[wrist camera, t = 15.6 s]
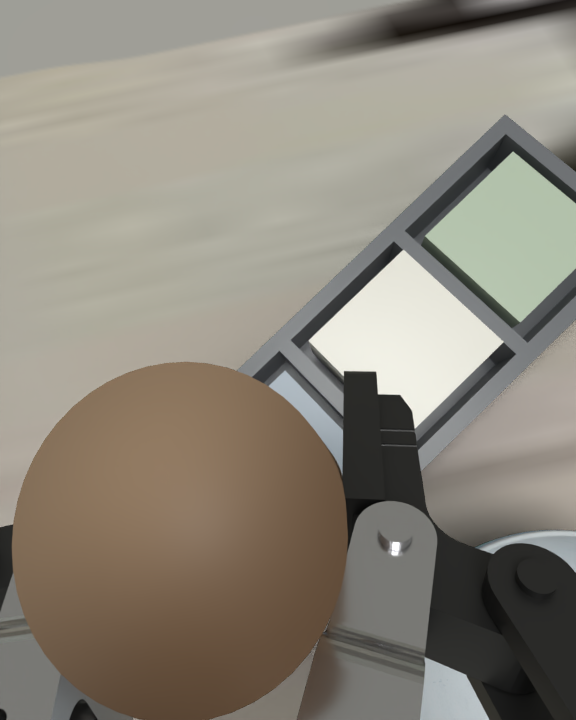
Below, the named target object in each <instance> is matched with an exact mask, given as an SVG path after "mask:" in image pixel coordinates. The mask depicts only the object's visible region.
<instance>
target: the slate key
mask: <svg viewBox="0 0 576 720" xmlns="http://www.w3.org/2000/svg"><path fill="white" fill-rule="evenodd" d="M269 387H270V388H271V389H273V390H274V391H276V392H277V393H279V394H280V395H281V396H283V397H284V398H285V399H286V400H287V401H288V402H290V403H291V404H292V405H293V406H294V407H295V408H296V409H297V410H298V411H299V412H300V413H301V414H302V415H303V417H304V418H305V419H306V420H307V421H308V423H309V424H310V425H311V426H312V427H313V429H314V430H315V431H316V433H317V434H318V435H319V437H320V438H321V439H322V441H323V442H324V443H325V445H326V446H327V448H328V449H329V450H330V452H331V453H332V454H333V456H334V457H335V459H336V461H337V463H338V465H339V467H340V470H341V473H342V472H343V430H342V429H341V428H340V427H339V426H338V425H337V424H336V423H335V422H334V421H333V420H332V419H331V418H330V416H329V415H328V414H327V413H326V412H325V411H324V410H323V409H322V408H321V407H320V406H319V405H318V404H317V403H316V402H315V401H314V400H313V399H312V398H311V397H310V396H309V395H308V394H307V393H306V392H305V391H304V390H303V389H302V387H301V386H300V385H299V384H298V383H297V382H296V381H295V380H294V379H293V378H292V377H291V376H290V375H289V374H288V373H287V372H286V371H284V372H283V373H282V374H281V375H280V376H279V377H278V378H277V379H276V380H275V381H274V382H272V383H271V384H270V385H269Z"/></svg>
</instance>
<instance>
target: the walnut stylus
mask: <svg viewBox="0 0 576 720" xmlns="http://www.w3.org/2000/svg"><path fill="white" fill-rule="evenodd" d="M347 545H348V530H347V513H346V502H345V494H344V488H343V483H342V473H341V470H340V467H339V465H338V463H337V461H336V459H335V457H334V456H333V454H332V453H331V452H330V450H329V449H328V448H327V446H326V445H325V443H324V442H323V441H322V439H321V438H320V437H319V435H318V434H317V433H316V431H315V430H314V429H313V427H312V426H311V425H310V424H309V423H308V421H307V420H306V419H305V418H304V417H303V415H302V414H301V413H300V412H299V411H298V410H297V409H296V408H295V407H294V406H293V405H292V404H291V403H290V402H288V401H287V400H286V399H285V398H284V397H283V396H281V395H280V394H279V393H277V392H276V391H274V390H273V389H271V388H270V387H269V386H267V385H266V384H264V383H262V382H260V381H258V380H256V379H254V378H252V377H250V376H248V375H246V374H243V373H241V372H238V371H235V370H232V369H229V368H226V367H221V366H216V365H212V364H207V363H194V362H177V363H164V364H159V365H153V366H148V367H144V368H141V369H138V370H135V371H132V372H129V373H126V374H124V375H121V376H119V377H117V378H115V379H113V380H111V381H109V382H107V383H105V384H104V385H102V386H100V387H99V388H97V389H96V390H94V391H92V392H91V393H89V394H88V395H87V396H86V397H84V398H83V399H82V400H81V401H80V402H78V403H77V404H76V405H75V406H73V407H72V408H71V409H70V410H69V411H68V412H67V414H66V415H65V416H64V417H63V418H62V419H61V420H60V421H59V422H58V423H57V424H56V426H55V427H54V428H53V430H52V431H51V432H50V433H49V435H48V436H47V437H46V439H45V440H44V442H43V443H42V445H41V447H40V449H39V450H38V452H37V454H36V455H35V457H34V459H33V461H32V463H31V465H30V468H29V470H28V472H27V474H26V477H25V479H24V482H23V485H22V488H21V492H20V495H19V498H18V501H17V507H16V512H15V517H14V523H13V536H12V561H13V573H14V579H15V584H16V590H17V594H18V598H19V601H20V604H21V608H22V611H23V614H24V616H25V619H26V621H27V623H28V625H29V628H30V630H31V632H32V634H33V636H34V638H35V639H36V641H37V643H38V644H39V646H40V648H41V649H42V651H43V652H44V654H45V656H46V657H47V658H48V659H49V660H50V662H51V663H52V664H53V665H54V667H55V668H56V669H57V670H58V671H59V673H60V674H61V675H63V676H64V677H65V678H66V679H67V680H68V681H69V682H70V683H71V684H72V685H73V686H74V687H76V688H77V689H78V690H79V691H81V692H82V693H84V694H85V695H87V696H88V697H90V698H91V699H93V700H94V701H95V702H97V703H99V704H101V705H103V706H105V707H107V708H110V709H112V710H114V711H116V712H118V713H121V714H125V715H128V716H131V717H134V718H137V719H142V720H209V719H212V718H215V717H219V716H222V715H225V714H229V713H232V712H234V711H236V710H238V709H240V708H243V707H245V706H247V705H249V704H251V703H253V702H255V701H256V700H258V699H259V698H261V697H263V696H264V695H266V694H267V693H269V692H270V691H272V690H273V689H275V688H276V687H277V686H278V685H279V684H280V683H281V682H283V681H284V680H285V679H286V678H287V677H288V676H289V675H291V674H292V673H293V672H294V671H295V669H296V668H297V667H298V666H299V665H300V664H301V662H302V661H303V660H304V659H305V658H306V657H307V656H308V654H309V653H310V652H311V650H312V648H313V647H314V645H315V644H316V642H317V641H318V639H319V638H320V636H321V635H322V633H323V631H324V629H325V627H326V625H327V623H328V621H329V619H330V617H331V615H332V613H333V611H334V608H335V605H336V602H337V599H338V596H339V593H340V590H341V587H342V582H343V577H344V572H345V567H346V559H347Z"/></svg>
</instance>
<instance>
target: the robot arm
mask: <svg viewBox="0 0 576 720" xmlns="http://www.w3.org/2000/svg"><path fill="white" fill-rule="evenodd" d="M342 483H343V488H344V494H345V502H346V513H347V530H348V545H347V559H346V567H345V572H344V577H343V582H342V587H341V590H340V593H339V596H338V599H337V602H336V605H335V608H334V611H333V613H332V615H331V617H330V621H329V624H328V627H327V630H326V631H325V632H323V633H322V635H321V637H320V639H319V642H318V645H317V648H316V651H315V654H314V658H313V662H312V665H311V669H310V673H309V676H308V680H307V684H306V687H305V691H304V695H303V698H302V702H301V706H300V709H299V713H298V717H297V720H420V715H421V706H422V697H423V687H424V676H425V657H426V658H428V659H430V660H433V661H435V662H437V663H440V664H442V665H444V666H447V667H449V668H451V669H454V670H456V671H458V672H461V673H463V674H465V675H466V676H467V678H468V680H469V682H470V684H471V686H472V687H473V689H474V691H475V693H476V695H477V697H478V699H479V701H480V703H481V705H482V707H483V708H484V710H485V712H486V714H487V716H488V718H489V720H576V572H575V571H574V570H573V569H572V568H571V567H570V565H569V564H568V563H567V562H565V561H564V560H563V559H562V558H561V557H559V556H558V555H556V554H555V553H553V552H551V551H549V550H547V549H545V548H542V547H540V546H537V545H532V544H526V543H514V544H509V545H506V546H504V547H501V548H500V549H498V550H497V551H496V552H495V553H494V554H492V553H489V552H486V551H483V550H480V549H477V548H474V547H471V546H468V545H466V544H463V543H461V542H458V541H456V540H454V539H453V538H451V537H449V536H448V535H446V534H445V533H444V532H443V531H442V530H440V529H439V528H438V527H437V525H436V524H435V523H434V522H433V520H432V519H431V517H430V516H429V513H428V511H427V508H426V503H425V496H424V489H423V482H422V476H421V469H420V462H419V455H418V448H417V441H416V434H415V427H414V420H413V413H412V410H411V409H410V407H409V406H408V405H407V403H406V402H405V401H404V399H403V398H402V397H401V395H387V394H378V387H377V374H376V371H344V401H343V472H342ZM12 536H13V525H9V526H4V527H0V720H133V717H131V716H128V715H125V714H121V713H118V712H116V711H114V710H112V709H110V708H107V707H105V706H103V705H101V704H99V703H97V702H95V701H94V700H93V699H91V698H90V697H88V696H87V695H85V694H84V693H82V692H81V691H79V690H78V689H77V688H76V687H74V686H73V685H72V684H71V683H70V682H69V681H68V680H67V679H66V678H65V677H64V676H63V675H61V674H60V673H59V671H58V670H57V669H56V668H55V667H54V665H53V664H52V663H51V662H50V660H49V659H48V658H47V657H46V656H45V654H44V652H43V651H42V649H41V648H40V646H39V644H38V643H37V641H36V639H35V638H34V636H33V634H32V632H31V630H30V628H29V625H28V623H27V621H26V619H25V616H24V614H23V611H22V608H21V604H20V601H19V598H18V594H17V590H16V584H15V579H14V573H13V561H12Z"/></svg>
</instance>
